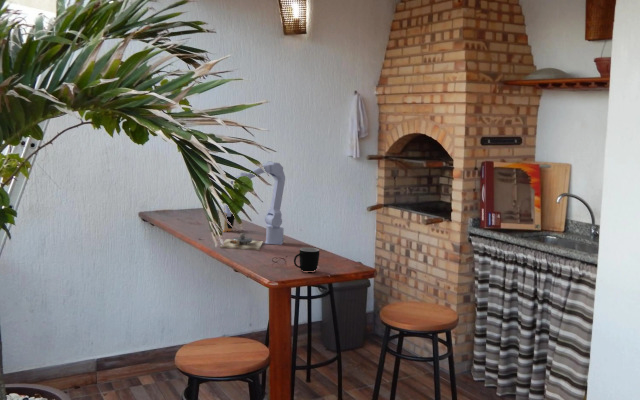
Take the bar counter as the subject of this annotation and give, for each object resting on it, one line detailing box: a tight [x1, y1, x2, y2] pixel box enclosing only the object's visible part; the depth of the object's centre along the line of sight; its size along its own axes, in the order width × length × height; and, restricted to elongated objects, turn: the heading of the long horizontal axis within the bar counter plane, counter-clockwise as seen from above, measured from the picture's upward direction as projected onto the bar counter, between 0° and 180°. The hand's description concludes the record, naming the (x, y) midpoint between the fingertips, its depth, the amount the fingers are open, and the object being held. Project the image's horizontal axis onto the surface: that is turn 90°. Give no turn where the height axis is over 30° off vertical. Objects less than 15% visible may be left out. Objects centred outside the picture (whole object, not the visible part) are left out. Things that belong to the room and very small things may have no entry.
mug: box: [293, 247, 320, 271], centre depth 308 cm, size 12×9×10 cm
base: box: [219, 232, 264, 251], centre depth 362 cm, size 20×20×6 cm
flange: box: [230, 236, 253, 244], centre depth 360 cm, size 14×10×1 cm
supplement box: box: [218, 208, 235, 233], centre depth 402 cm, size 8×5×13 cm, turn 143°
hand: (230, 228), depth 360 cm, fingers closed
